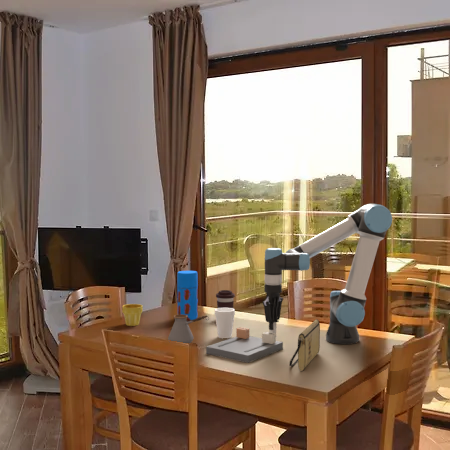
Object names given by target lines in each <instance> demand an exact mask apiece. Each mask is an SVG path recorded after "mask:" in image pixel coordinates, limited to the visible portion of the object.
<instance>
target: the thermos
mask: <svg viewBox="0 0 450 450" xmlns="http://www.w3.org/2000/svg"><path fill="white" fill-rule="evenodd" d="M198 276H199V275H198V271H196V270H181V271H180V270H179V271H178V272H177V275H176V277H177V279H176V281H177V284H176V286H177V290H176V291H177V296H176V298H177V315H187V316H188V317H187V319H186V321H192V320H194V319H196V318H199V315H198V312H199V311H198V310H199V306H198V305H199V304H198V303H199V294H198V293H199V292H198V290H199V289H198V286H199V284H198V283H199V282H198V281H199V280H198V279H199V278H198Z"/></svg>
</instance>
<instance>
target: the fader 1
mask: <svg viewBox="0 0 450 450" xmlns="http://www.w3.org/2000/svg"><path fill="white" fill-rule="evenodd" d="M235 332H236V336H235V337H238V338H243V339H247V338H249V336H250V328H247V327H241V326H239V327H237V328H236V331H235Z"/></svg>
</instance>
